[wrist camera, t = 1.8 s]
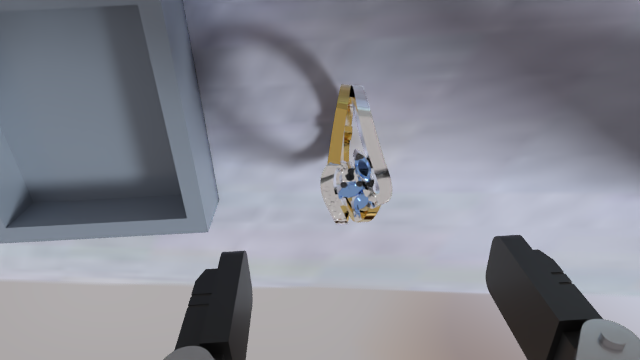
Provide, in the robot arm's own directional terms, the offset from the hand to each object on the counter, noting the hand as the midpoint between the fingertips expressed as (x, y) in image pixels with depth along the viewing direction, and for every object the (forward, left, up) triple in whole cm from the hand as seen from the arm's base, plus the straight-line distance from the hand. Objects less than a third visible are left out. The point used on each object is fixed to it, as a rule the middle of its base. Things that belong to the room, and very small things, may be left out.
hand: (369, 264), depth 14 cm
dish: (+14, -2, -13) cm, 19 cm away
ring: (0, 0, -13) cm, 13 cm away
